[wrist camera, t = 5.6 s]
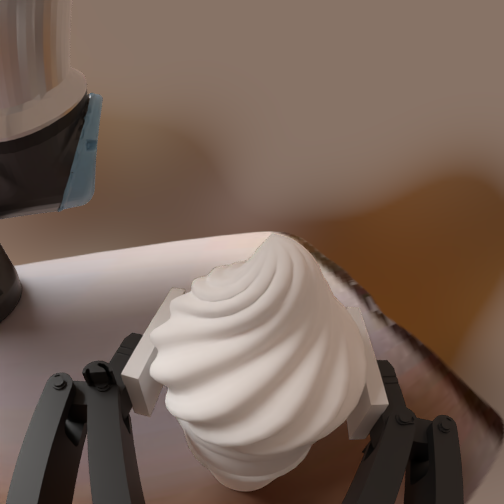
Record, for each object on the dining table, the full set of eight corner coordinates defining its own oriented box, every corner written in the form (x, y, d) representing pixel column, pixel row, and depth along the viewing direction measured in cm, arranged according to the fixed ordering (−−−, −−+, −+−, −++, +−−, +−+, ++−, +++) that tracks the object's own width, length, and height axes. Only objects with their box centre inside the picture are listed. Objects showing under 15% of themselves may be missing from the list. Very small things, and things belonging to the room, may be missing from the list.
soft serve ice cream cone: (171, 425, 18) (136, 195, 11) (281, 406, 20) (323, 192, 14) (196, 530, 11) (114, 340, 4) (328, 495, 13) (468, 279, 6)
